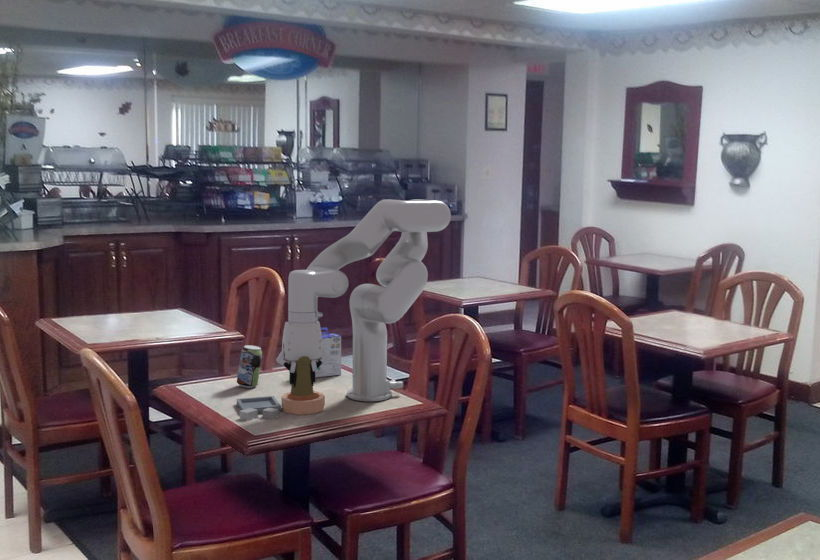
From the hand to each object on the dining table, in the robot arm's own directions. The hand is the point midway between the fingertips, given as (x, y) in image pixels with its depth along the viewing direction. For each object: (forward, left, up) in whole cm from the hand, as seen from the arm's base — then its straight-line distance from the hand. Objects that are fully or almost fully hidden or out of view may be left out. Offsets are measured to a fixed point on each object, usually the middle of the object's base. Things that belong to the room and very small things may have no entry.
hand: (302, 385), depth 229 cm
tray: (+11, -5, -6) cm, 13 cm away
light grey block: (+15, +3, -7) cm, 17 cm away
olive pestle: (0, 0, -2) cm, 2 cm away
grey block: (+9, +4, -7) cm, 12 cm away
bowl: (0, 0, -6) cm, 6 cm away
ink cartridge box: (-15, -34, -7) cm, 37 cm away
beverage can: (+9, -27, -7) cm, 29 cm away
